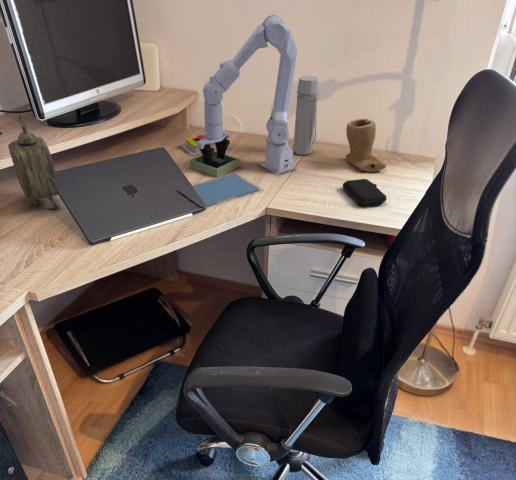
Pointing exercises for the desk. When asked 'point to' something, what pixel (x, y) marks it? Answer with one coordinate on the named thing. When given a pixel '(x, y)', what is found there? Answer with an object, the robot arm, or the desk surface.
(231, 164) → the caddy
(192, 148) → the emergency button
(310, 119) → the water bottle
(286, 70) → the robot arm
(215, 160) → the remote
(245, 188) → the mat
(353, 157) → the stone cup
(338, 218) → the desk surface
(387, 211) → the desk surface
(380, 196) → the carrying case
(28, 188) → the ribbed olive figurine
